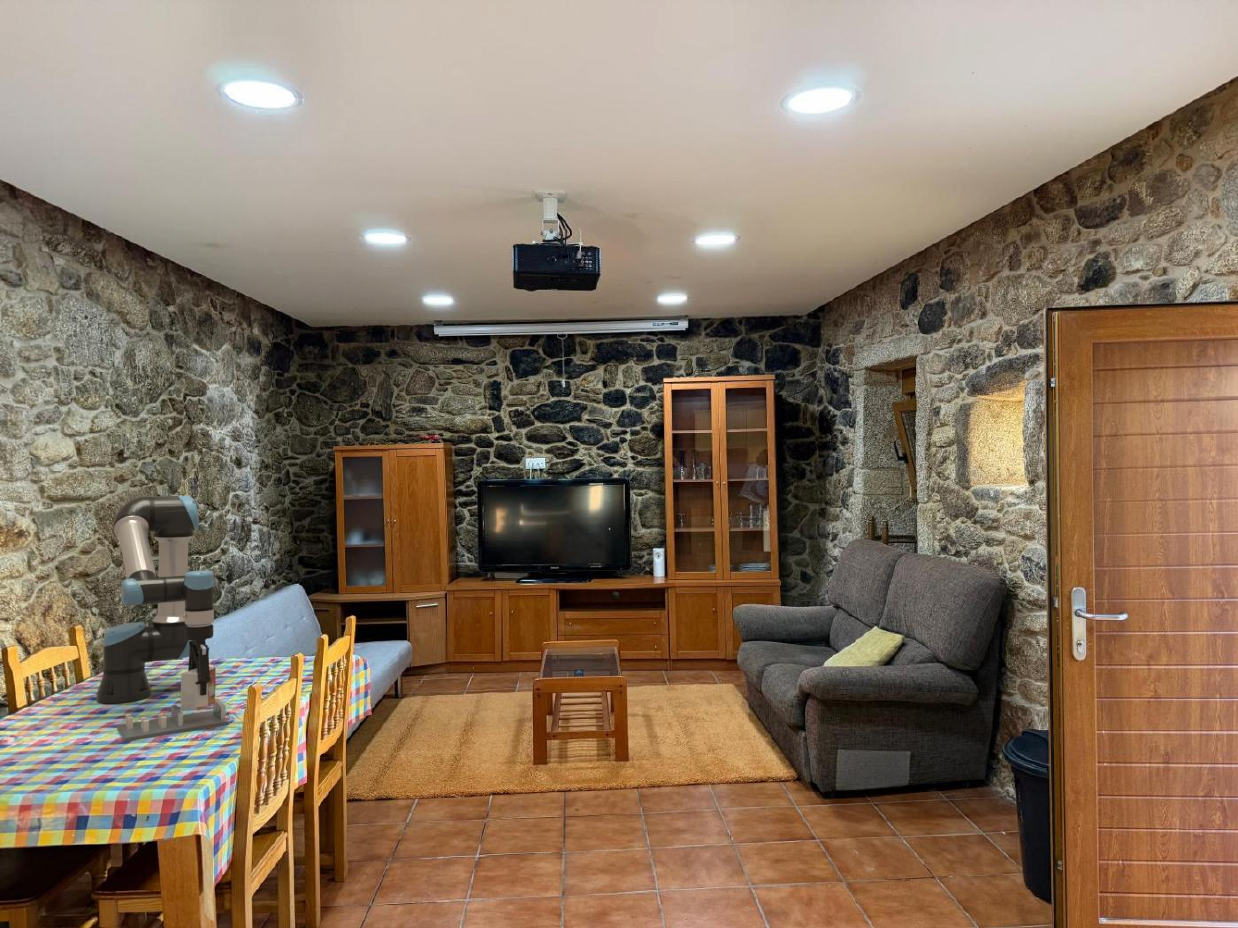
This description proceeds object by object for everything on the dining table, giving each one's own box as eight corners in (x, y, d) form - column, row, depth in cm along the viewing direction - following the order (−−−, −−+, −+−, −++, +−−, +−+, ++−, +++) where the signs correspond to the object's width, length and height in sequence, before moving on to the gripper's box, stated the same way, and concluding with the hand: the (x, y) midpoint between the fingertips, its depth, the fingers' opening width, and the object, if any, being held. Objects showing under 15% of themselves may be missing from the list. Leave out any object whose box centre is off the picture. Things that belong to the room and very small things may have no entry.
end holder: (171, 719, 248) (171, 705, 248) (217, 712, 256) (217, 698, 256) (178, 727, 240) (178, 713, 240) (225, 719, 248) (225, 705, 248)
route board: (116, 728, 243) (117, 714, 243) (216, 713, 258) (216, 699, 258) (124, 741, 231) (124, 726, 231) (228, 724, 246) (228, 710, 247)
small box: (197, 710, 244) (197, 673, 244) (179, 709, 245) (180, 672, 245) (215, 703, 251) (216, 667, 251) (199, 701, 253) (199, 666, 253)
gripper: (177, 621, 255) (176, 696, 255) (192, 631, 237) (192, 712, 237) (204, 618, 259) (204, 693, 259) (222, 628, 242) (221, 708, 242)
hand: (198, 702), depth 248 cm, fingers closed on small box, 9 cm apart
